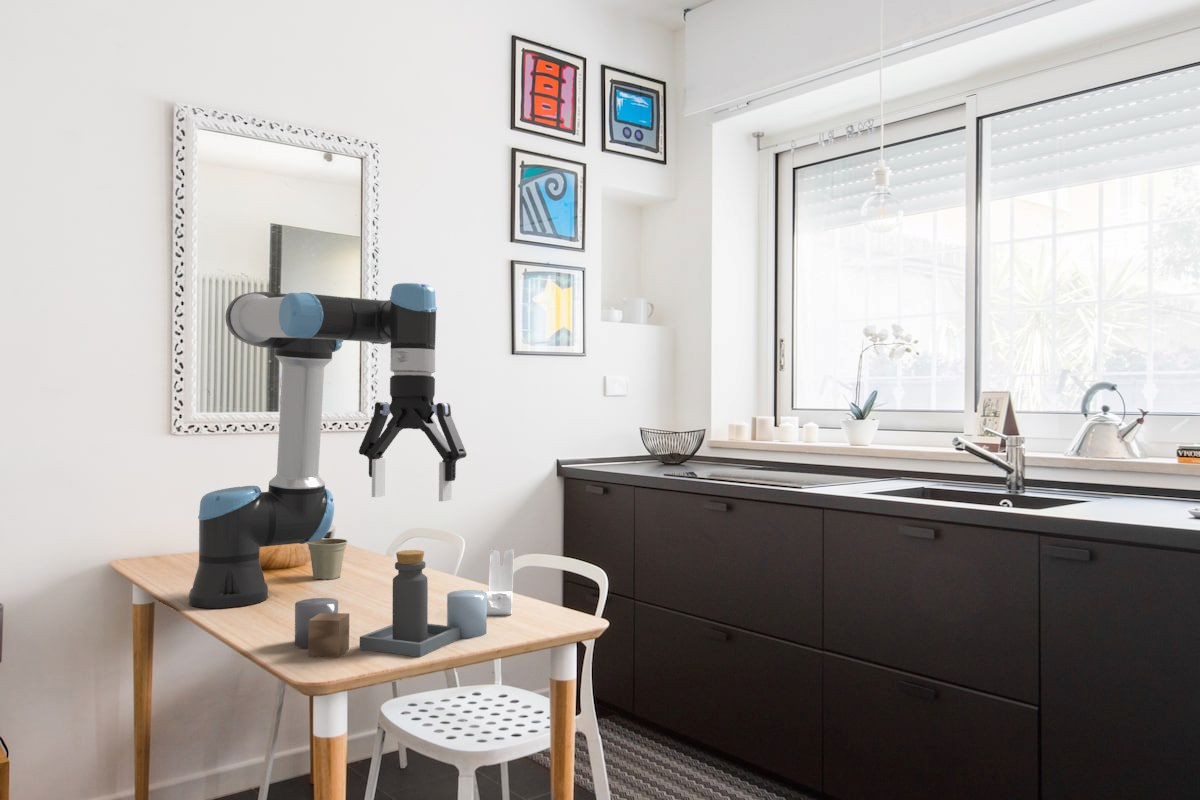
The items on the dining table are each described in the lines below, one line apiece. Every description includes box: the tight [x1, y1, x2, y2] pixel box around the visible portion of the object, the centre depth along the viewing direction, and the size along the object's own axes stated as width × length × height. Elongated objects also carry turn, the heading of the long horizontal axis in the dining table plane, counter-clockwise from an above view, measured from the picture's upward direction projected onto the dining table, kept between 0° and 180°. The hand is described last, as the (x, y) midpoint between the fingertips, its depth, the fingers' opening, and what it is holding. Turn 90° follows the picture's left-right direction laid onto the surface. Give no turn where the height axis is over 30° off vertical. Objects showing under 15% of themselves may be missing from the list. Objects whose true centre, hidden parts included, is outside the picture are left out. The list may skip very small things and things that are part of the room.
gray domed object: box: [294, 597, 339, 650], centre depth 147 cm, size 7×7×7 cm
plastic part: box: [485, 548, 515, 616], centre depth 172 cm, size 8×10×12 cm
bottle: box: [392, 549, 429, 643], centre depth 147 cm, size 6×6×15 cm
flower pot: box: [306, 538, 349, 581], centre depth 204 cm, size 9×9×9 cm
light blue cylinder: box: [446, 589, 488, 639], centre depth 154 cm, size 7×7×7 cm
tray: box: [359, 623, 461, 658], centre depth 147 cm, size 12×12×2 cm
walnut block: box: [307, 612, 350, 659], centre depth 141 cm, size 5×5×6 cm
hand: (411, 498), depth 147 cm, fingers open, 13 cm apart
